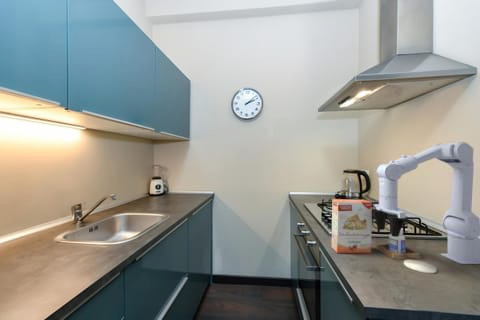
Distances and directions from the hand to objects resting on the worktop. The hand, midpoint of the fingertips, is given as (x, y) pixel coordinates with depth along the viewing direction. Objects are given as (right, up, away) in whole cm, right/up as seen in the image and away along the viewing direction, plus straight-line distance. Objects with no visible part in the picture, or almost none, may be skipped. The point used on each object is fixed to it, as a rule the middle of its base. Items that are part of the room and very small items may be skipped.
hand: (387, 232), depth 83 cm
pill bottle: (+8, -11, +6) cm, 15 cm away
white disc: (+8, -11, -5) cm, 14 cm away
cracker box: (-9, -11, +9) cm, 17 cm away
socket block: (+8, -10, +6) cm, 14 cm away
